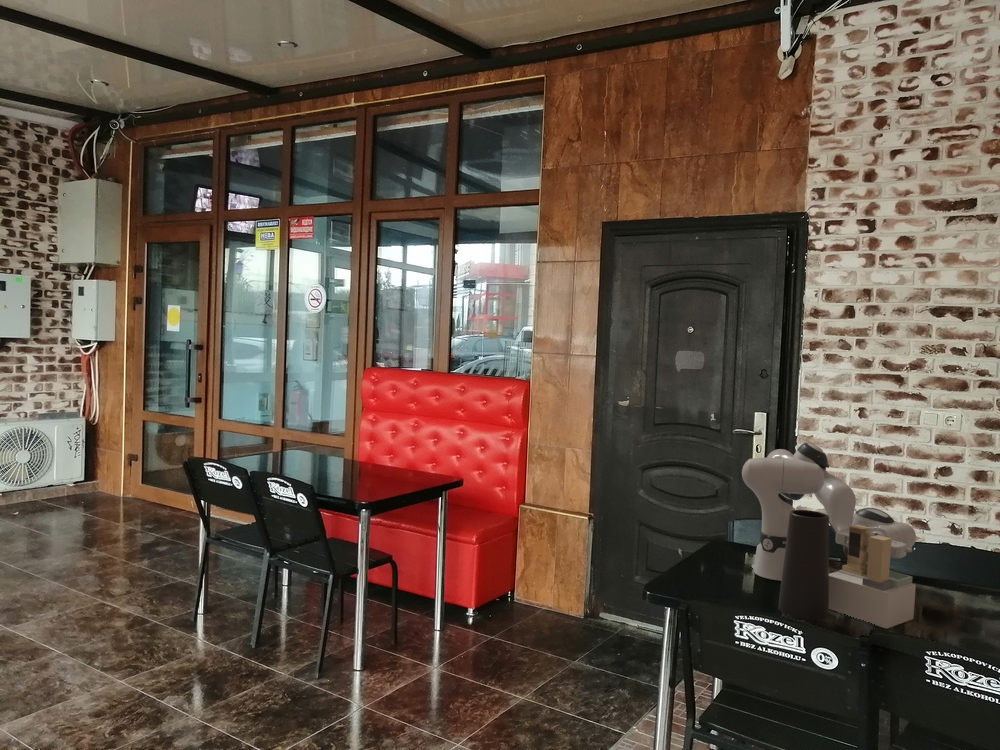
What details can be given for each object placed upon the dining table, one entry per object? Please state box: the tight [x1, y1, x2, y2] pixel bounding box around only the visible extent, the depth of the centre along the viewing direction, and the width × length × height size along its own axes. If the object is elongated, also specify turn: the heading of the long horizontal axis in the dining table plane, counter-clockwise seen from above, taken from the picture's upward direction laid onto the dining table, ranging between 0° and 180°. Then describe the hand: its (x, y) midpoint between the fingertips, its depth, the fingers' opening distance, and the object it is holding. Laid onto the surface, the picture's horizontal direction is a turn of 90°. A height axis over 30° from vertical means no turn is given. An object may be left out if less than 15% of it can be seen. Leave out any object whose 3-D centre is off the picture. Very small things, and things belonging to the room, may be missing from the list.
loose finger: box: [841, 525, 870, 576], centre depth 240 cm, size 6×6×14 cm
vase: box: [777, 509, 830, 622], centre depth 233 cm, size 14×14×29 cm
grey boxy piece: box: [829, 535, 917, 630], centre depth 234 cm, size 15×19×24 cm
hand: (857, 547), depth 239 cm, fingers closed on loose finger, 4 cm apart
